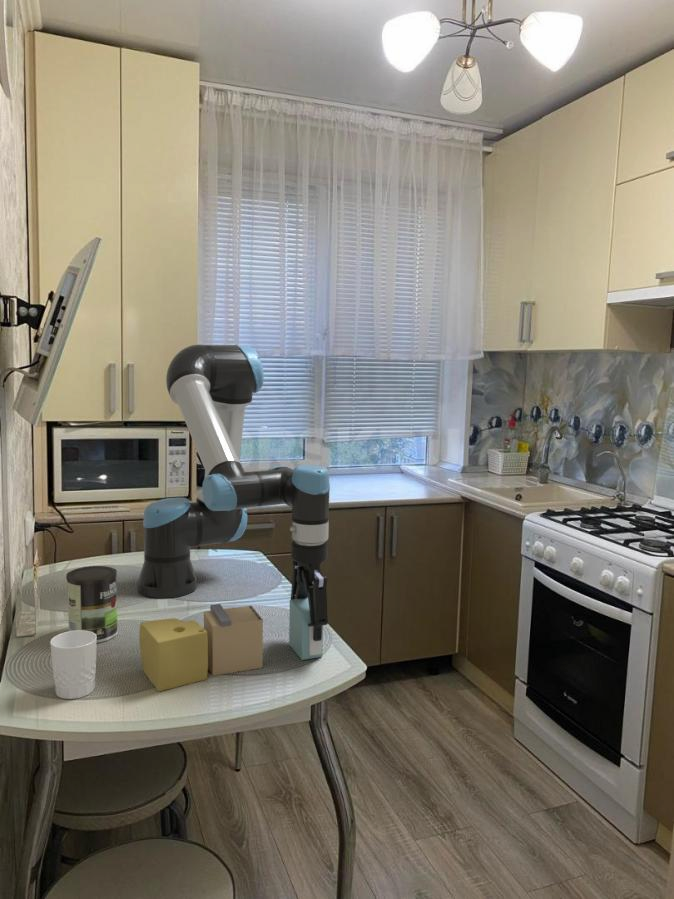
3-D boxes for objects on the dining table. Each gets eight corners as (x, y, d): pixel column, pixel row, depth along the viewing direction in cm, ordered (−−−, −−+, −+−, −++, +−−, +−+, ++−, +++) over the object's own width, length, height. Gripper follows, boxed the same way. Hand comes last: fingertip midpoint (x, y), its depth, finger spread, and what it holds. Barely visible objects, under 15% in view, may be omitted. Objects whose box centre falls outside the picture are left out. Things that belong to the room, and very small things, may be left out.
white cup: (91, 700, 122) (89, 647, 120) (45, 701, 121) (43, 648, 120) (102, 679, 129) (101, 629, 128) (60, 680, 129) (58, 630, 127)
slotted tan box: (203, 657, 140) (203, 606, 138) (250, 649, 144) (250, 600, 142) (213, 677, 131) (213, 622, 130) (263, 668, 135) (263, 616, 134)
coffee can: (126, 627, 154) (125, 567, 151) (102, 646, 144) (100, 582, 141) (85, 623, 156) (83, 563, 154) (58, 641, 146) (56, 578, 144)
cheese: (190, 659, 139) (189, 612, 138) (210, 681, 130) (210, 631, 129) (139, 670, 133) (138, 622, 132) (156, 694, 124) (156, 642, 123)
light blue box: (289, 644, 146) (289, 599, 145) (308, 641, 148) (309, 597, 147) (301, 660, 139) (302, 613, 138) (322, 656, 141) (323, 610, 139)
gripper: (276, 529, 148) (275, 628, 152) (310, 557, 130) (308, 669, 133) (308, 527, 151) (306, 624, 155) (346, 553, 132) (343, 663, 136)
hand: (307, 645), depth 144 cm, fingers closed on light blue box, 8 cm apart
